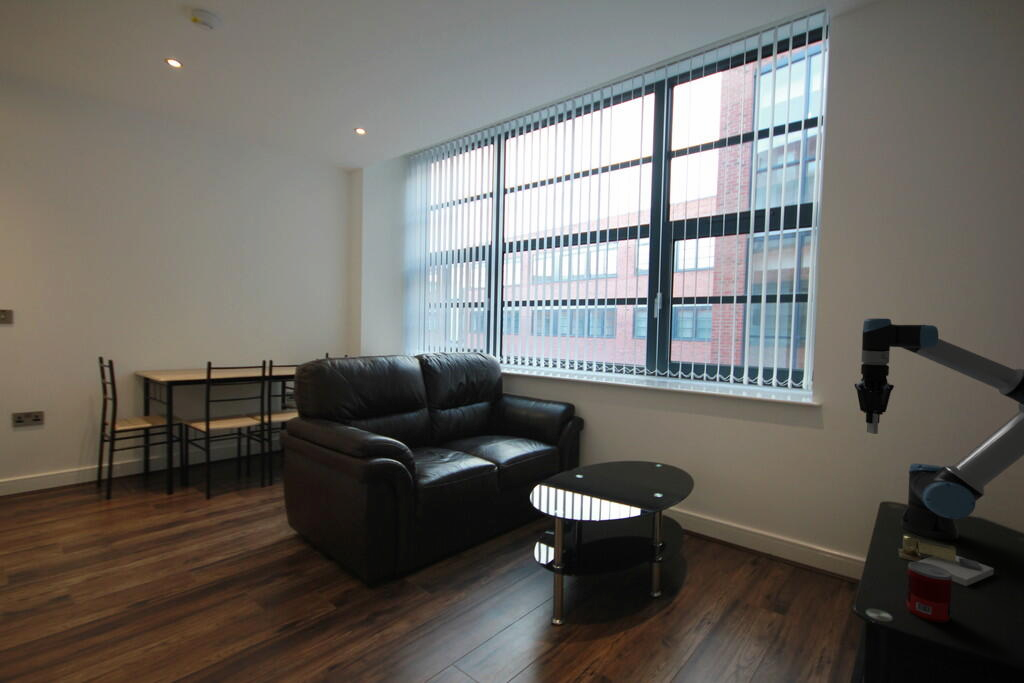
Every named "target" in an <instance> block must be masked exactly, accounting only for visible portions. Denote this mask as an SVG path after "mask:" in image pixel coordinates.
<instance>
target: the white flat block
mask: <svg viewBox="0 0 1024 683" xmlns="http://www.w3.org/2000/svg"><path fill="white" fill-rule="evenodd" d="M918 562H923V563H928V564H932V565H935V566H938V567H941V568H943V569H945V570H947V571H949V572H950V573H951V574H952V582H954V583H957V584H959V585H961V586H965V587H968V586H971V585H973V584H974V583H977V582H979V581H981V580H984V579H986V578H988V577H989V578H990V577H991V576H993V575H994V571H995V570H994V568H995V567H994V568H993V567H991V566H988V565H985V564H983V563H979V562H978V561H976V560H971V559H967V558H965V557H962V556H959V555H956V561H955V560H951V559H946V558H942V557H938V556H933V555H931V556H929V557H926V558H924V559H922V560H920V561H918Z"/></svg>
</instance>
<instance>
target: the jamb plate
mask: <svg viewBox="0 0 1024 683" xmlns="http://www.w3.org/2000/svg"><path fill="white" fill-rule="evenodd" d="M898 555H899V558H901V559H904V560H909V561H912V562H918V561H920V560H923V559H922V556H921V554H920V552H918V556H912V555H908V554H905V553H903V548H898Z"/></svg>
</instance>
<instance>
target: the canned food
mask: <svg viewBox="0 0 1024 683" xmlns="http://www.w3.org/2000/svg"><path fill="white" fill-rule="evenodd" d="M952 583H953V581H952V574H951V573H950V572H949V571H947V570H945V569H943V568H941V567H938V566H935V565H932V564H928V563H923V562H917V561H910V562H908V565H907V582H906V584H907V585H906V607H907V610H908V611H909V612H910V613H912V614H913V615H914V616H917V617H918V618H920V619H923V620H926V621H929V622H934V623H939V624H941V623H942V624H943V623H947V622H949V620H950V618H951V604H952V603H951V602H952V587H953V585H952Z"/></svg>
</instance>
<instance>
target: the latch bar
mask: <svg viewBox="0 0 1024 683" xmlns="http://www.w3.org/2000/svg"><path fill="white" fill-rule="evenodd" d="M902 549H903V553H905V554H908V555H912V556H918V553H921V554H926V555H930V556H938V557H942V558H946V559H951V560H955V561H956V556H957V550H956V549H957V548H956V546H953V545H947V544H943V543H939V542H934V541H929V540H925V539H921V538H919V537H917V536H915V535H912V534H903V535H902Z"/></svg>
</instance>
